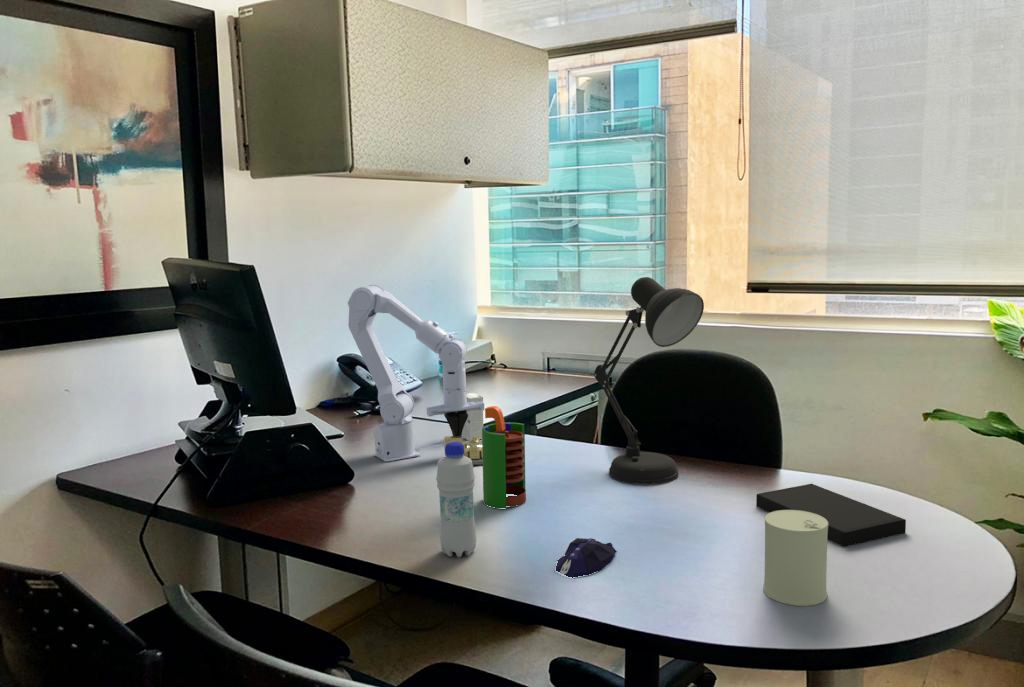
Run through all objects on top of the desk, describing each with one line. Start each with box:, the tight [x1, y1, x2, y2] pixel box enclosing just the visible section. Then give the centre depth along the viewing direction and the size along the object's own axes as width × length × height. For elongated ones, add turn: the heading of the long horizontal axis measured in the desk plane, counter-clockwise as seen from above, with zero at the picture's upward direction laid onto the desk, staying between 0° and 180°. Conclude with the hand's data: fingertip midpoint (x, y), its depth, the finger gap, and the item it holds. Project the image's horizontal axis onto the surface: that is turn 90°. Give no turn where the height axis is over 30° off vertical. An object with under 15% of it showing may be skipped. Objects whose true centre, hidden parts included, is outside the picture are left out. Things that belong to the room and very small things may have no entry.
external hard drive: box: [755, 483, 907, 548], centre depth 152 cm, size 14×23×3 cm, turn 22°
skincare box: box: [461, 392, 484, 441], centre depth 219 cm, size 6×4×12 cm
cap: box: [466, 443, 483, 466], centre depth 200 cm, size 13×13×4 cm
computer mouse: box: [555, 537, 618, 578], centre depth 136 cm, size 9×15×4 cm, turn 139°
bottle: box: [435, 442, 477, 558], centre depth 140 cm, size 7×7×20 cm
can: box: [762, 510, 828, 607], centre depth 121 cm, size 9×9×12 cm
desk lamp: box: [593, 276, 705, 485], centre depth 179 cm, size 24×26×45 cm
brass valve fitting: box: [443, 435, 483, 459], centre depth 199 cm, size 11×12×4 cm
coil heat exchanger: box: [482, 405, 527, 509], centre depth 166 cm, size 10×9×20 cm
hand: (457, 440), depth 202 cm, fingers closed
